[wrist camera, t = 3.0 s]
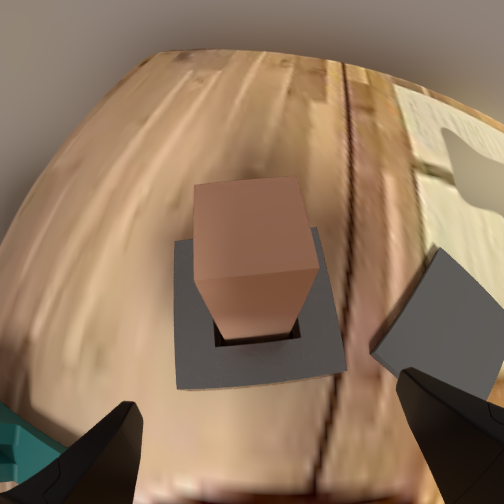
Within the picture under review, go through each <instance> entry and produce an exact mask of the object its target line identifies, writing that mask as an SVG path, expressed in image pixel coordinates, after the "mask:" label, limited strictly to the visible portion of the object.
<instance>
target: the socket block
mask: <svg viewBox="0 0 504 504" xmlns="http://www.w3.org/2000/svg"><path fill="white" fill-rule="evenodd" d="M310 229H311V233H312V237H313V241H314V245H315V249H316V254H317V258H318V262H319V267H320V268H319V270H318V273H317V275H316V277H315V280H314V282H313V284H312V286H311V288H310V291H309V293H308V295H307V297H306V300H305V302H304V304H303V306H302V308H301V310H300V312H299V315H298V317H297V319H296V321H295V323H294V325H293V327H292V333H293V339H290V340H283V341H275V342H266V343H257V344H248V345H237V346H225V347H221V344H220V331H219V328H218V327H217V325H216V323H215V321H214V319H213V317H212V315H211V313H210V311H209V309H208V307H207V306H206V304H205V302H204V300H203V298H202V296H201V294H200V292H199V290H198V288H197V286H196V284H195V282H194V249H193V239H190V240H181V241H175V250H174V343H175V367H176V385H177V390H185V391H205V390H223V389H237V388H248V387H258V386H267V385H275V384H283V383H290V382H297V381H303V380H309V379H315V378H321V377H326V376H332V375H336V374H338V373H341V372H344V371H347V366H346V360H345V355H344V349H343V343H342V338H341V333H340V328H339V323H338V318H337V313H336V308H335V303H334V298H333V294H332V289H331V285H330V280H329V276H328V272H327V267H326V263H325V259H324V255H323V251H322V247H321V243H320V239H319V235H318V231H317V227H314V228H310Z"/></svg>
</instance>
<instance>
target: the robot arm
mask: <svg viewBox="0 0 504 504" xmlns="http://www.w3.org/2000/svg"><path fill="white" fill-rule="evenodd" d="M396 392H397V395H398V397H399V400H400V403H401V405H402V408H403V411H404V413H405V416H406V419H407V422H408V424H409V427H410V429H411V431H412V433H413V435H414V437H415V439H416V441H417V443H418V445H419V447H420V449H421V451H422V453H423V456H424V458H425V460H426V462H427V464H428V466H429V468H430V471H431V473H432V475H433V477H434V479H435V482H436V484H437V486H438V488H439V491H440V493H441V495H442V498H443V500H444V502H445V504H504V408H503V407H500V406H498V405H495V404H493V403H490V402H487V401H486V400H483V399H481V398H479V397H477V396H474V395H472V394H470V393H468V392H465V391H463V390H461V389H459V388H457V387H454V386H452V385H450V384H448V383H446V382H444V381H441V380H439V379H437V378H435V377H433V376H431V375H428V374H426V373H424V372H422V371H420V370H418V369H416V368H414V367H408V368H405V369H402V370H401V371H400V374H399V378H398V381H397V385H396ZM142 433H143V417H142V415H141V413H140V411H139V409H138V407H137V405H136V403H135V402H133V401H123V402H121V403H120V404H119V405H118V406H117V407H116V408H114V409H113V410H112V411H111V412H110V413H109V414H108V415H106V416H105V417H104V418H103V419H102V420H101V421H99V422H98V423H97V424H96V425H95V426H94V427H93V428H91V429H90V430H89V431H88V432H87V433H86V434H84V435H83V436H82V437H81V438H80V439H78V440H77V441H76V442H75V443H74V444H73V445H71V446H70V447H69V448H68V449H67V450H65V451H64V452H63V453H62V454H61V455H60V456H59V457H57V458H56V459H55V460H53V461H52V462H51V463H50V464H48V465H47V466H46V467H45V468H43V469H42V470H41V471H39V472H38V473H36V474H35V475H33V476H32V477H30V478H29V479H27V480H25V481H24V482H22V483H20V484H19V485H17V486H16V487H14V488H12V489H10V490H9V491H6V492H2V493H0V504H133V498H134V492H135V486H136V481H137V475H138V470H139V465H140V458H141V446H142Z"/></svg>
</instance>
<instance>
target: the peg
mask: <svg viewBox="0 0 504 504" xmlns="http://www.w3.org/2000/svg"><path fill="white" fill-rule="evenodd" d="M193 249H194V282H195V284H196V286H197V288H198V290H199V292H200V294H201V296H202V298H203V300H204V302H205V304H206V306H207V307H208V309H209V311H210V313H211V315H212V317H213V319H214V321H215V323H216V325H217V327H218V328H219V330H220V332H221V334H222V336H223V338H224V340H225V341H226V343H227V345H228V346H237V345H248V344H257V343H266V342H275V341H283V340H287V337H288V335H289V333H290V331H291V329H292V327H293V325H294V323H295V321H296V319H297V317H298V315H299V312H300V310H301V308H302V306H303V304H304V302H305V300H306V297H307V295H308V293H309V291H310V288H311V286H312V284H313V282H314V280H315V277H316V275H317V273H318V270H319V268H320V267H319V262H318V258H317V254H316V249H315V245H314V241H313V237H312V233H311V229H310V225H309V221H308V217H307V213H306V209H305V205H304V201H303V198H302V194H301V190H300V187H299V183H298V179H297V176H286V177H271V178H258V179H247V180H236V181H226V182H216V183H207V184H199V185H194V231H193Z"/></svg>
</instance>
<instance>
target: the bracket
mask: <svg viewBox="0 0 504 504" xmlns="http://www.w3.org/2000/svg"><path fill="white" fill-rule="evenodd" d="M67 449H68V448H66V447H65V446H63V445H61V444H60V443H58V442H56V441H55V440H53V439H51V438H50V437H48V436H47V435H45V434H44V433H42V432H41V431H39V430H38V429H36V428H35V427H33V426H32V425H30V424H29V423H28V422H26V421H25V420H23V419H22V418H21V417H19V416H18V415H17V414H15V413H14V412H13V411H12V410H10V409H9V408H8V407H6V406H5V405H4V404H3V403H2V402H0V482H9V481H15V482H17V483H18V484H20V483H22V482H24V481H25V480H27V479H29V478H30V477H32V476H33V475H35V474H36V473H38V472H39V471H41V470H42V469H43V468H45V467H46V466H47V465H48V464H50V463H51V462H52V461H53V460H55V459H56V458H57V457H59V456H60V455H61V454H62V453H63V452H64V451H65V450H67Z"/></svg>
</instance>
